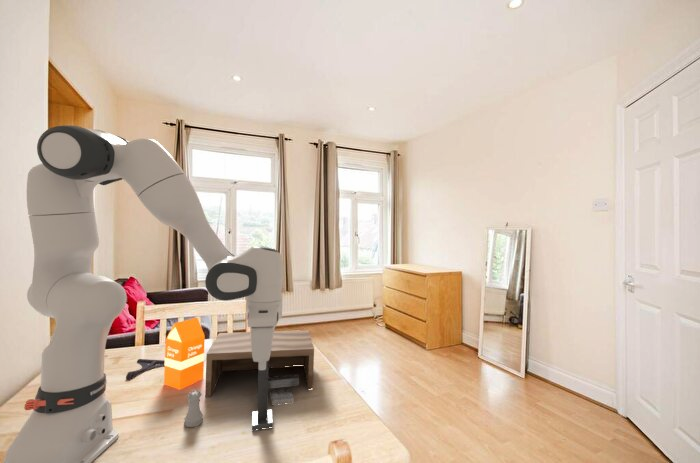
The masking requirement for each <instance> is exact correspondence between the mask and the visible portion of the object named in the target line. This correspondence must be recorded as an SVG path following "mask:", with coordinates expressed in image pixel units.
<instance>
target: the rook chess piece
mask: <svg viewBox="0 0 700 463" xmlns="http://www.w3.org/2000/svg"><path fill="white" fill-rule="evenodd" d="M201 396H202V393H201V390H199V389H193V390H190V391H189V393H188V394H187V396H186V397H187V399H188V401H187V403H188V409H187V413H186V415H185V417H184V418H183V419H184V422H183V425H184V426H185V427H186V428H195V427H198V426H199V425H201V424H202V423H203V421H204V419H203V418H204V415H203V413H202V410H201V408H200V407H201V406H200V402H201V399H200V398H201Z"/></svg>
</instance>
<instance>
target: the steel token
mask: <svg viewBox="0 0 700 463" xmlns="http://www.w3.org/2000/svg"><path fill="white" fill-rule="evenodd" d="M270 396H271V397H270V401H272V402H271V406H272V405H278V404H285V403H292V402H293V403H294V396H293V393H292V389H291V388H284V389H275V390H270ZM293 403H292V404H293ZM285 405H286V404H285ZM278 406H279V405H278Z"/></svg>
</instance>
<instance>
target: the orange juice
mask: <svg viewBox="0 0 700 463" xmlns="http://www.w3.org/2000/svg"><path fill="white" fill-rule="evenodd" d="M205 338H206V337H205V332H204V331H203V328H202V326H201V323H200V321H199V319H198V317H193V318H189V319H186V320H183V321H178V322H175V323H173V326H172V327H171V330H170V331H169V332H168V334H167V336H166V338H165V342H164V343H165V346H164V347H165V348H164V360H165V366H164V374H163V375H164V378H163V379H164V380H163V384H164V385H165V386H168V387H172V388H173V389H177V390H182V389H184V388H186V387H189V386H191V385H193V384H195V383H197V382H199V381H201V380H204V371H205V370H204V369H205V368H204V367H205V366H204V365H205V363H204V362H205Z"/></svg>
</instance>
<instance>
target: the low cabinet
mask: <svg viewBox="0 0 700 463" xmlns="http://www.w3.org/2000/svg"><path fill="white" fill-rule="evenodd" d="M314 358H315V347H314V344H313V340H312V336H311V334H310V330H308V329H305V330H304V329H303V330H278V331H277V330H274V333H273V340H272V347H271V354H270V358H269V360H268V369H272V368H271V367H284V368H286V367H285V366H293V365H304V366H303V368H304V367H305V369H304V373H306V375H305V380H306V379H307V380H306V385H308V386H307V390H308V389H311V388H313V389H314V366H315V365H314V364H315V359H314ZM205 364H206V365H205V390H204V392H205V393H204V397H205V398H211V397H212V395H213V393H214V391H215V387H216V385H217V383H218V380H219V378H220V376H221V373H222V372H225V371H226V372H227V371H228V372H229V371H243V370H244V371H246V370H248V371H249V370H258V362H254V361H253V358H252V349H251V332H249V331H246V332H245V331H244V332H243V331H242V332H219V333H218V334H217V336H216V338H215V339H214V341H213V343H211V346H210V347H209V349H208V351H207V352H206V363H205Z"/></svg>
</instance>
